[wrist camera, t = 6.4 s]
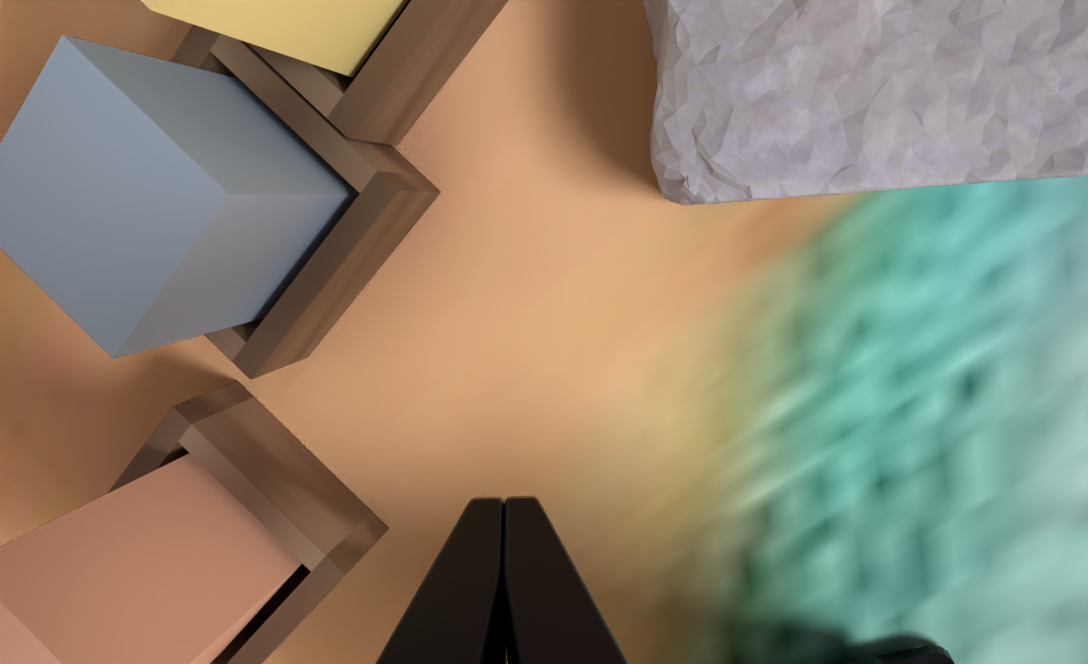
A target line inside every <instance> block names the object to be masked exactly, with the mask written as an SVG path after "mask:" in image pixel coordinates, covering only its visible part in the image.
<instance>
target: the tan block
mask: <svg viewBox="0 0 1088 664" xmlns="http://www.w3.org/2000/svg"><path fill="white" fill-rule="evenodd" d="M301 564H302V563H301V562H300V561H299V560H298V559H297V558H296V557H295V556H294V555H293V554H292V553H291V552H290V551H289V550H288V549H287V548H286V547H285V546H284V545H283V544H282V543H281V542H280V541H279V540H278V539H277V538H276V537H275V536H274V535H273V534H272V533H271V532H270V531H269V530H268V529H267V528H266V527H265V526H264V525H263V524H262V523H261V522H260V521H259V520H258V519H257V518H256V517H254V516H253V515H252V514H251V513H250V512H249V511H248V510H247V509H246V508H245V507H244V506H243V505H242V504H241V503H240V502H239V501H238V500H237V499H236V498H235V497H234V496H233V495H232V494H231V493H230V492H229V491H228V490H227V489H226V488H225V487H224V486H223V485H222V484H221V483H220V482H219V481H218V480H217V479H216V478H215V477H214V476H213V475H212V474H211V473H210V472H209V471H208V470H207V469H206V468H205V467H204V466H203V465H201V464H200V463H199V462H198V461H197V460H196V459H195V458H194V457H193V456H192V455H191V454H190V453H189V454H187V455H185V456H183V457H181V458H179V459H177V460H175V461H173V462H171V463H169V464H167V465H165V466H163V467H161V468H159V469H157V470H155V471H153V472H151V473H148V474H146V475H144V476H142V477H140V478H138V479H136V480H134V481H132V482H130V483H128V484H126V485H124V486H122V487H120V488H118V489H116V490H114V491H112V492H110V493H108V494H106V495H104V496H102V497H100V498H98V499H96V500H93V501H91V502H89V503H87V504H85V505H83V506H81V507H79V508H77V509H75V510H73V511H71V512H69V513H67V514H65V515H63V516H61V517H59V518H57V519H55V520H53V521H51V522H49V523H47V524H45V525H43V526H41V527H38V528H36V529H34V530H32V531H30V532H28V533H26V534H24V535H22V536H20V537H18V538H16V539H14V540H12V541H10V542H8V543H6V544H4V545H2V546H0V664H210V663H211V662H212V661H213V660H214V659H215V658H216V657H217V656H218V655H219V654H220V653H222V652H223V650H224V649H225V648H226V647H227V646H228V645H229V644H230V643H231V642H232V640H233V639H234V638H235V637H236V636H237V635H238V634H239V633H240V632H241V631H242V629H243V628H244V627H245V626H246V625H247V624H248V623H249V622H250V621H251V620H252V618H253V617H254V616H255V615H256V614H257V613H258V612H259V611H260V610H261V609H262V607H263V606H264V605H265V604H266V603H267V602H268V601H269V600H270V599H271V597H272V596H273V595H274V594H275V593H276V592H277V591H278V590H279V589H280V588H281V586H282V585H283V584H284V583H285V582H286V581H287V580H288V579H289V578H290V577H291V575H292V574H293V573H294V572H295V571H296V570H297V569H298V568H299V567H300V565H301Z"/></svg>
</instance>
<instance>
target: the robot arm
mask: <svg viewBox="0 0 1088 664" xmlns="http://www.w3.org/2000/svg"><path fill="white" fill-rule="evenodd" d="M507 661H508V664H628V662H627V660H626V659H625V657H624V655H623V653H622V651H621V649H620V648H619V646H618V644H617V642H616V640H615V638H614V637H613V635H612V633H611V631H610V629H609V628H608V626H607V624H606V622H605V620H604V618H603V617H602V615H601V613H600V611H599V609H598V607H597V606H596V604H595V602H594V600H593V598H592V596H591V595H590V593H589V591H588V589H587V587H586V585H585V584H584V582H583V580H582V578H581V576H580V574H579V573H578V571H577V569H576V567H575V565H574V563H573V562H572V560H571V558H570V556H569V554H568V552H567V551H566V549H565V547H564V545H563V543H562V541H561V540H560V538H559V536H558V534H557V532H556V530H555V529H554V527H553V525H552V523H551V521H550V519H549V518H548V516H547V514H546V512H545V510H544V508H543V507H542V505H541V503H540V501H539V500H538V499H537V498H536V497H535V496H511V497H507V498H506V499H505V502H504V501H503V499H502V498H500V497H478V498H473V499H471V500H470V502H469V503H468V504H467V506H466V508H465V510H464V511H463V513H462V515H461V517H460V518H459V520H458V522H457V523H456V525H455V527H454V529H453V530H452V532H451V534H450V536H449V537H448V539H447V541H446V542H445V544H444V546H443V548H442V549H441V551H440V553H439V555H438V556H437V558H436V560H435V561H434V563H433V565H432V567H431V568H430V570H429V572H428V574H427V575H426V577H425V579H424V580H423V582H422V584H421V586H420V587H419V589H418V591H417V593H416V594H415V596H414V598H413V599H412V601H411V603H410V605H409V606H408V608H407V610H406V612H405V613H404V615H403V617H402V618H401V620H400V622H399V624H398V625H397V627H396V629H395V631H394V632H393V634H392V636H391V637H390V639H389V641H388V643H387V644H386V646H385V648H384V650H383V651H382V653H381V655H380V657H379V658H378V660H377V662H376V663H375V664H507ZM933 661H940V662H942V664H955V663H954V662H953V660H952V658H951V656H950V654H949V653H948V651H946V650H945V649H944V648H942V647H939V646H935V645H932V646H924V647H919V648H915V649H910V650H905V651H901V652H896V653H891V654H887V655H882V656H877V657H874V656H868V657H863V658H858V659H854V660H849V661H844V662H840V663H835V664H930V663H931V662H933Z"/></svg>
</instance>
